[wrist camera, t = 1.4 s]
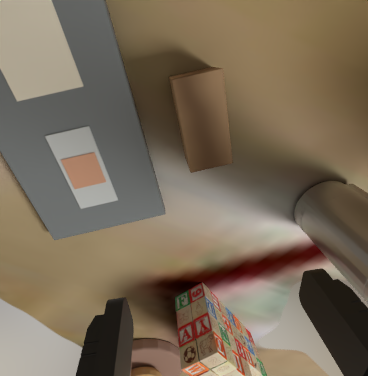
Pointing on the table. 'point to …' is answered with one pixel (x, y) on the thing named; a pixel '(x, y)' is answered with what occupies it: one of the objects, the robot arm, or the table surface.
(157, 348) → the hourglass
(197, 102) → the walnut brick
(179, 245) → the table surface
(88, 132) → the board
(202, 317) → the stack of blocks
